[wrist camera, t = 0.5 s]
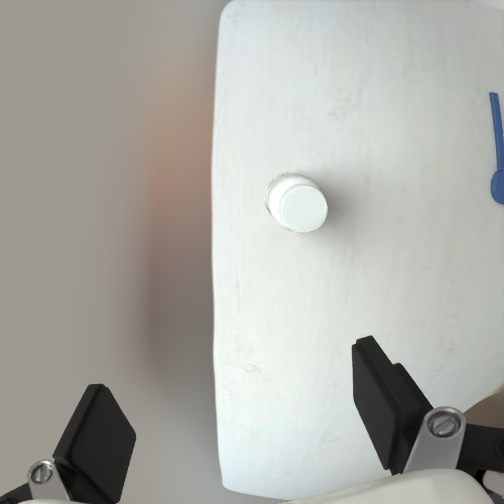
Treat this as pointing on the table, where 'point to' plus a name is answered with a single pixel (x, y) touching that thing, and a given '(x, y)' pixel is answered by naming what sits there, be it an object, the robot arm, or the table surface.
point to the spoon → (498, 151)
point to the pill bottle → (295, 203)
